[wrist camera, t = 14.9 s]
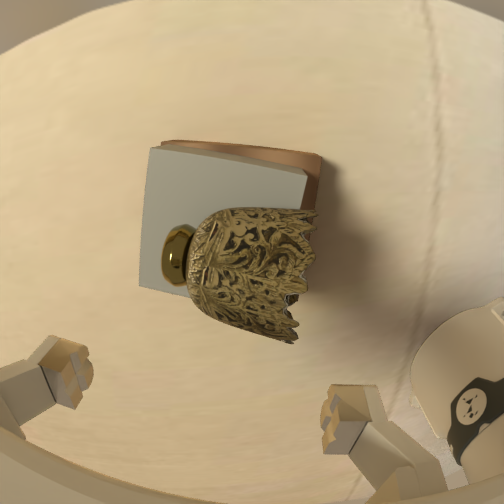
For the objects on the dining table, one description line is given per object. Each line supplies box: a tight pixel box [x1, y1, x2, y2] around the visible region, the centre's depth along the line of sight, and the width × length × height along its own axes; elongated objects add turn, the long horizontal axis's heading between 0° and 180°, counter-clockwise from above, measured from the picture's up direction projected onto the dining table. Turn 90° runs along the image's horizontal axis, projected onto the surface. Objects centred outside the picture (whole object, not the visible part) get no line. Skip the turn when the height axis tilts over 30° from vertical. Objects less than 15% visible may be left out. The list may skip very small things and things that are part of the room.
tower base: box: [161, 140, 322, 301], centre depth 26 cm, size 12×12×4 cm
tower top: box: [139, 144, 308, 298], centre depth 23 cm, size 10×10×4 cm
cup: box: [161, 207, 318, 344], centre depth 18 cm, size 8×7×8 cm
